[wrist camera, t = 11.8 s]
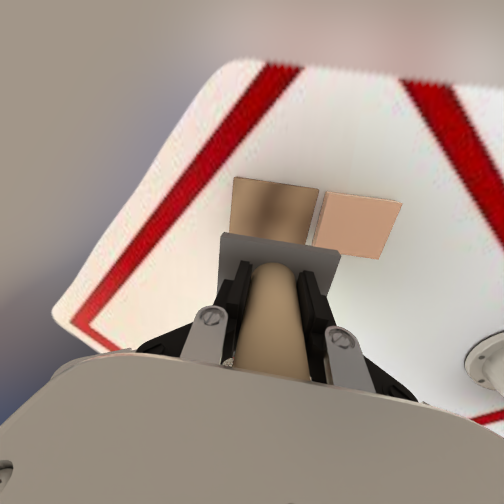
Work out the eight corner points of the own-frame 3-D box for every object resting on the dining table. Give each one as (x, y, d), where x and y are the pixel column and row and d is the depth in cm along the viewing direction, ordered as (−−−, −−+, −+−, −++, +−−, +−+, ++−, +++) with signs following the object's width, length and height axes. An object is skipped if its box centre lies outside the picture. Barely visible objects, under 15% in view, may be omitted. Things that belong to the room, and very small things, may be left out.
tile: (402, 203, 22) (329, 193, 23) (378, 259, 25) (314, 249, 26) (392, 199, 24) (325, 190, 25) (371, 252, 27) (311, 243, 28)
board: (317, 188, 24) (319, 190, 23) (303, 242, 27) (304, 245, 26) (235, 176, 25) (233, 177, 24) (230, 230, 28) (229, 233, 27)
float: (337, 250, 12) (419, 375, 5) (315, 313, 14) (352, 461, 7) (223, 232, 13) (157, 327, 6) (219, 296, 15) (167, 423, 8)
